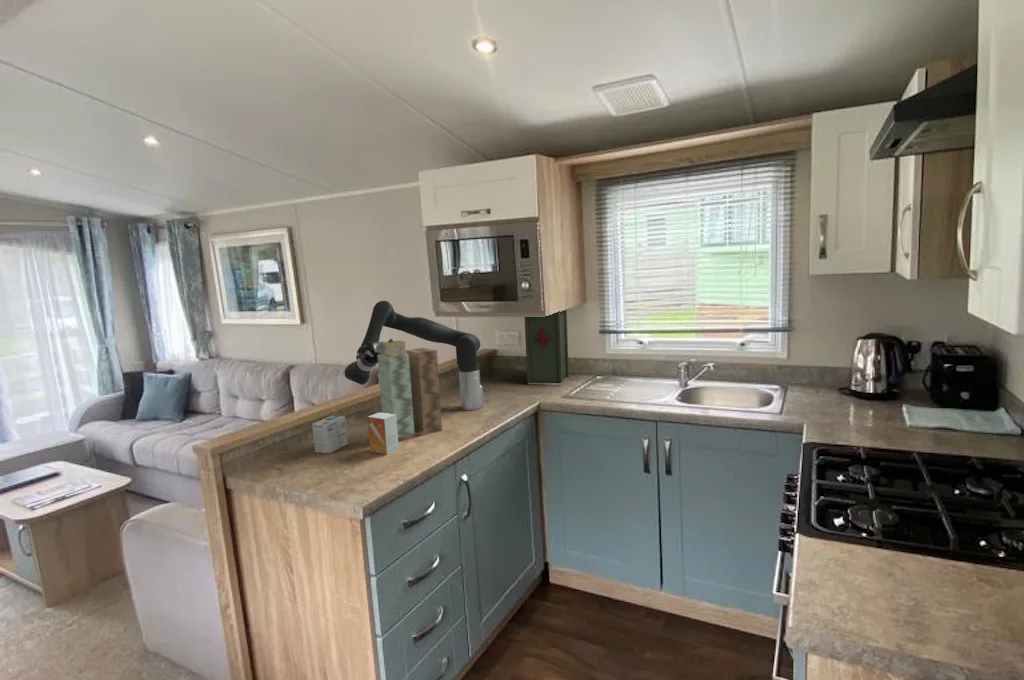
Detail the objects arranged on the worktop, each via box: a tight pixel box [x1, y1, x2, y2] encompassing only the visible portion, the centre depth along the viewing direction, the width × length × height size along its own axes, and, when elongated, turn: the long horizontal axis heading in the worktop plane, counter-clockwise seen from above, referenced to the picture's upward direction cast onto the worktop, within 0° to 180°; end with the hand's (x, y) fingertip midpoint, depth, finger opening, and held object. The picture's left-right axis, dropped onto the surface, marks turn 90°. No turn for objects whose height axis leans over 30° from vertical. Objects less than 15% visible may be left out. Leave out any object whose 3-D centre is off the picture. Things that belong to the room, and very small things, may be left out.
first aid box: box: [524, 309, 570, 383], centre depth 287 cm, size 18×18×40 cm
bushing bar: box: [374, 340, 407, 357], centre depth 205 cm, size 6×18×5 cm, turn 37°
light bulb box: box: [311, 415, 349, 454], centre depth 196 cm, size 11×7×11 cm, turn 159°
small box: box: [367, 411, 400, 456], centre depth 190 cm, size 8×6×13 cm
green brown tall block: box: [377, 347, 443, 442], centre depth 207 cm, size 20×10×32 cm, turn 128°
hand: (381, 342), depth 208 cm, fingers open, 8 cm apart
